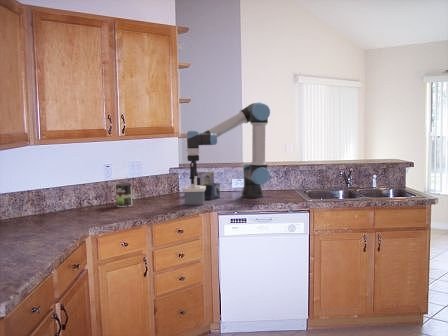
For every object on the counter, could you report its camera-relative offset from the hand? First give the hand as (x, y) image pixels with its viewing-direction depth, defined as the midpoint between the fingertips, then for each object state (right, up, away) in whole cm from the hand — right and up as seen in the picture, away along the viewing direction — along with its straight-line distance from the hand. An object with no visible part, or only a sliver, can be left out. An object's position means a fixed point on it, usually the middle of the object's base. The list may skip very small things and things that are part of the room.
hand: (193, 187), depth 314 cm
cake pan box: (+5, -7, +39) cm, 40 cm away
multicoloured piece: (-45, -12, +2) cm, 47 cm away
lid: (0, -2, 0) cm, 2 cm away
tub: (+1, -11, +1) cm, 11 cm away
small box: (+11, -9, +21) cm, 25 cm away
